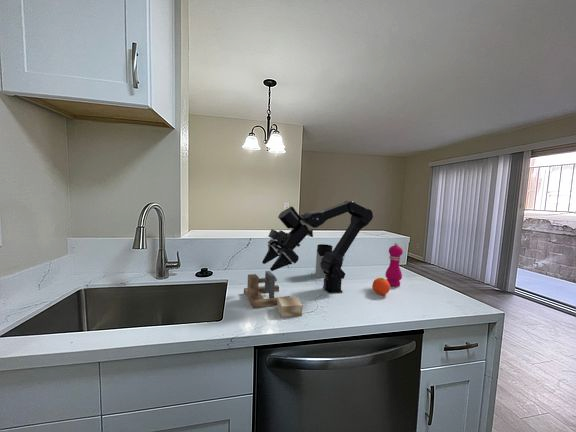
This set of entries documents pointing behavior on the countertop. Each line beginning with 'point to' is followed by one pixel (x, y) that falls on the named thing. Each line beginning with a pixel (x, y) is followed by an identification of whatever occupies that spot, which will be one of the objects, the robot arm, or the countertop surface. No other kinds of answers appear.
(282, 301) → the oak block
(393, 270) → the pepper mill
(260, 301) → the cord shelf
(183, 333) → the countertop surface
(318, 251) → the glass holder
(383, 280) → the clementine
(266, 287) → the gray arch
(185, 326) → the countertop surface
